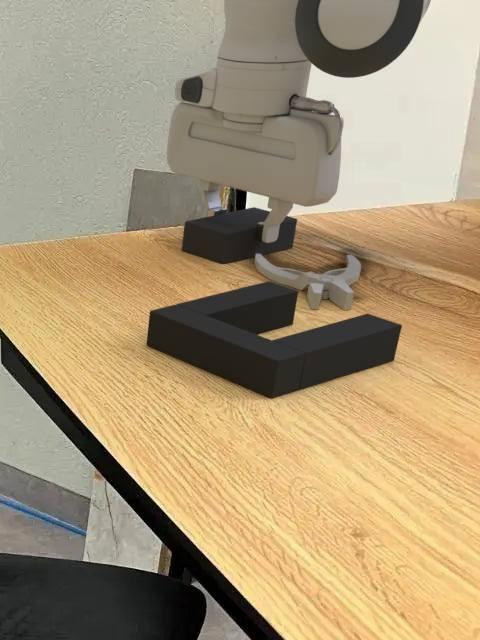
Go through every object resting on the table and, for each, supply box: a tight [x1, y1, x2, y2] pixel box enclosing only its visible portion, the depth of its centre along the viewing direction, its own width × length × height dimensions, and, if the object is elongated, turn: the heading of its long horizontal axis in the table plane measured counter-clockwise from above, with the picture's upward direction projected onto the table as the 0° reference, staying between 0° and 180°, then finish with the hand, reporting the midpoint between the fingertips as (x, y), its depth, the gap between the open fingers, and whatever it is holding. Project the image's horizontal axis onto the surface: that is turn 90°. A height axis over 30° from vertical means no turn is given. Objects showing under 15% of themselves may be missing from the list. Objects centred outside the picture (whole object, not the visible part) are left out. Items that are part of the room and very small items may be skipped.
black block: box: [181, 206, 298, 265], centre depth 119 cm, size 10×6×3 cm, turn 121°
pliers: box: [254, 254, 362, 311], centre depth 109 cm, size 10×2×15 cm
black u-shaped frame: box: [146, 280, 403, 399], centre depth 94 cm, size 14×14×3 cm
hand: (238, 232), depth 119 cm, fingers closed on black block, 6 cm apart
